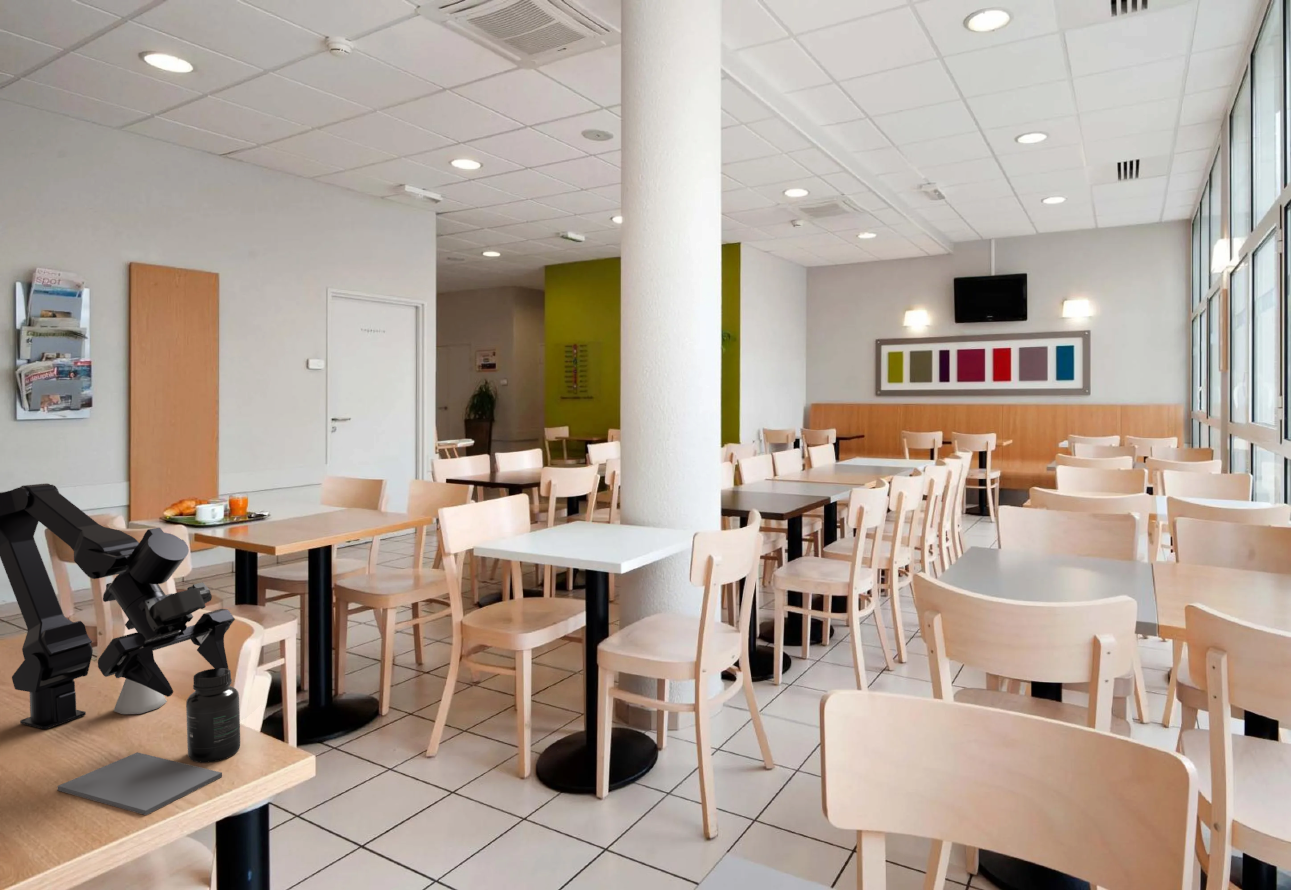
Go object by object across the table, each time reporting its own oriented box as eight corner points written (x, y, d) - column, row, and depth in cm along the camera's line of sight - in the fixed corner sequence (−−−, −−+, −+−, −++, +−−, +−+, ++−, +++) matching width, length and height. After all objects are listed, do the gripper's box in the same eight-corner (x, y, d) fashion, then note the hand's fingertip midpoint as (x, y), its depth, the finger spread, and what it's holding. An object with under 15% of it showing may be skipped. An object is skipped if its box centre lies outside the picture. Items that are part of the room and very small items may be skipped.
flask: (141, 717, 130) (139, 657, 129) (104, 714, 131) (102, 654, 131) (175, 701, 137) (174, 644, 137) (140, 698, 138) (138, 642, 138)
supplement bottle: (180, 754, 116) (178, 674, 116) (229, 739, 122) (227, 662, 121) (198, 768, 112) (195, 684, 111) (248, 752, 117) (246, 672, 116)
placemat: (57, 790, 105) (57, 785, 105) (137, 756, 116) (137, 752, 116) (145, 815, 99) (145, 810, 99) (222, 776, 109) (221, 772, 109)
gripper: (107, 582, 110) (166, 670, 106) (224, 558, 127) (278, 633, 123) (72, 633, 113) (128, 719, 109) (191, 602, 130) (242, 676, 127)
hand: (199, 684), depth 117 cm, fingers open, 9 cm apart
